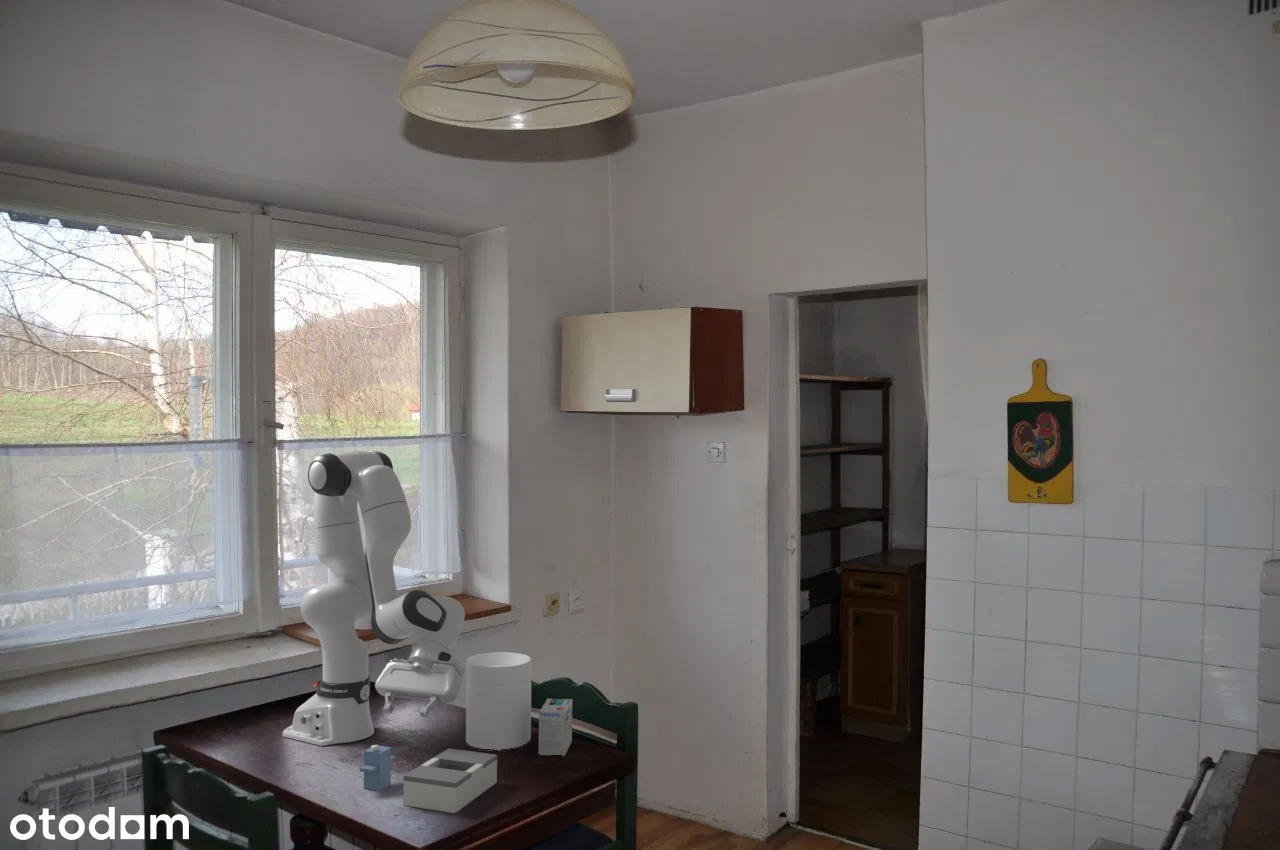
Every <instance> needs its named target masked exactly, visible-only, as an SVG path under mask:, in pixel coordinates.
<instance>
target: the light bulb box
mask: <svg viewBox="0 0 1280 850" xmlns="http://www.w3.org/2000/svg"><path fill="white" fill-rule="evenodd" d="M572 742H573V699H572V698H546V700H545V702H544V703H543V705H542V707H541V708H540V709H539V710H538V755H539V754H540V755H539V756H551V755H562V756H561V757H565V756H566V754H567V753H568V750H569V748H570V746H571V744H572Z"/></svg>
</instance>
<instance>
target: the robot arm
mask: <svg viewBox="0 0 1280 850" xmlns="http://www.w3.org/2000/svg"><path fill="white" fill-rule="evenodd" d="M307 480H308V483H309V485H310V487H311V489H312V491H313V492H314V495H313V497H314V498H313V528H314V535H315V543H316V552H317V557H318V560H319V561H320V562H321V563H322V564H324V565H326V566H327V567H328V569H330V571H331V572H332V574H333V576H334V578H335V581H331V582H326V583H322V584H320V585H318V586H315V587H313V588H312V589H309V590H308V591H306V593H304V595H303V596H302V599H301V602H300V614H301V617H302V619H303V620H304V622H305V623H306V625H308V626H309V627H311V628H312V629H313V630H314V632H315V633H316V636H318V639H319V644H320V647H321V654H322V678H321V679H319V680H318V681H315V682H313V683H312V684H313V686H312V687H313V689H314V688H316V687H317V689H316V692H315V693H314V694H313V696H311V697H310V698H308V699H307V700H306V701H305V702H303V703H302V704H301V705H300V706H298V707H297V708H296V710H295V712H294V714H293V719H292V725H289V726H287V728H284V730H283V731H282V735H281V736H282V737H283V738H288V739H291V740H295V741H300V742H305V743H308V744H312V745H316V746H321V747H322V746H330V745H335V744H343V743H344V744H346V743H351V742H357V741H362V740H364V739H367V738H369V737H371V736H372V735H374V733H375V728H374V726H373V722H372V717H371V710H370V695H371V694H370V693H371V677H370V675H369V655H370V654H369V651H370V650H369V646H368V644H367V643H366V642H365V641H363V639H361V638H359V637H358V634H357V632H356V627H355V624H356V623H357V622H360V621H365V620H369V619H370V626H371V629H372V631H373V633H374V635H375V637H376V638H377V639H379V641H380V642H382V643H384V644H387V645H397V644H399V643H402V642H403V641H405V640H406V639H407V638H409V637H412V636H413V637H415V638H416V642H415V644H414V646H413V648H412V651H411V653H410V655H409V657H408V658H400V657H395V658H394V659H391V660H389V661H388V662H387V663H386V665H385V667H384V668H383V670H382V671H381V673H380V674H379V676H378V677H377V679H376V681H375V684H374V687H375V690H376V692H377V693H378V694H379V695H380V696H382V697H384V700H385V703H384V706H383V709H382V710H383V712H384V714H393V711H394V709H395V706H394V705H393V703H392V701H394V700H395V698H402V699H413V700H420V701H421V700H422V701H429V702H428V703H427V704H426V705H425V706H422V707H421V708H420V711H419V716H420V717H421V718H429V716H430V714H431V712H432V711H433V710H434V709H435V708H437V706H439V704H440V703H441V702H442V703H453V702H454V701H455V700H456V699H457V698H458V695H459V693H460V690H461V686H462V682H463V681H462V680H463V678H462V677H463V676H464V674H465V669H464V667H463V664H462V662H461V661H460V660H459V658H458V657H457V656H456V655H455V654H453V653H452V650H453V647H454V646H455V645H456V643H457V642H458V640H459V638H460V634H461V632H462V630H463V627H464V622H465V617H466V614H465V609H464V606H463V605H462V604H461V603H460V601H458V600H457V599H456V598H453V597H450V596H435V595H431V594H430V593H429V592H427V591H425V590H420V589H413V590H411V591H409V592H406V593H404V594H401V595H400V596H398V591H397V586H396V580H395V579H396V578H395V573H394V561H395V557H396V555H397V554H398V551H399V549H400V548H401V546H402V544H403V543H404V542H405V541H406V539H407V537H408V536H409V534H410V531H411V529H412V519H411V513H410V508H409V506H408V501H407V498H406V495H405V492H404V489H403V487H402V485H401V483H400V480H399V477H398V476H397V475H396V473H395V471H394V466H393V462H392V460H391V458H390V457H389V456H388V455H387V454H385V453H384V452H381V451H376V450H369V451H367V450H349V451H342V452H335V453H332V452H330V453H329V452H328V453H324V454H320V455H318V456H316V457H314V458H313V459H312V460H311V462H310V463H309V467H308V471H307ZM358 505H359V509H360V514H361V518H362V522H363V527H364V534H365V547H364V544H363V537H362V532H361V523H360V516H359V510H358Z"/></svg>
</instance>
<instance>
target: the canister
mask: <svg viewBox="0 0 1280 850" xmlns="http://www.w3.org/2000/svg"><path fill="white" fill-rule="evenodd" d="M532 660H533V659H532V657H531V656H529V655H527V654H525V653H524V654H523V653H518V652H511V651H508V652H507V651H505V652H504V651H502V652H501V651H500V652H499V651H498V652H486V653H481V654H479V653H478V654H476V655H472V656H469V657H468V658H467V659H466V696H465V697H466V699H465V700H466V702H465V704H466V707H465V709H466V711H465V713H466V714H465V742H467V743H468V744H469V745H470V746H474V747H477V748H482V749H494V750H498V751H502V750H501V749H509V748H514V749H516V748H515V747H518V748H520V747H519V746H521V747H523V746H522V745H524V744H526V743H527V742H528V741H529V742H530V741H531V740H530V739H532V737H531V736H532V735H531V734H532V733H531V732H532V731H531V729H532V665H533V664H532V662H533V661H532ZM467 743H466V744H467ZM468 744H467V745H468ZM527 744H528V743H527ZM527 744H526V745H527ZM469 745H468V746H469ZM470 746H469V747H470ZM524 746H525V745H524ZM509 750H510V749H509Z"/></svg>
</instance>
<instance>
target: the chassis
mask: <svg viewBox="0 0 1280 850" xmlns="http://www.w3.org/2000/svg"><path fill="white" fill-rule="evenodd" d="M497 779H498V754H495V753H486V752H480V751H471V750H464V749H456V748H447V749H445V750H444V751H442V752H441V753H438V754H437V755H436V756H434V757H432V758H430V759H429V760H427V761H425V762H424V763H422V764H421V765H419V766H417V767H415V768H414V769H412V770H411V771H409V772H407V773H406V774H404V775H403V789H402V790H403V791H402V792H403V795H402V799H403V800H402V806H406V807H412V808H417V809H418V808H419V809H426V810H431V811H438V812H446V813H452V814H456V813H457V812H460V810H461V809H463V808H464V807H466V806H467V805H468V804H469V803H471V802H473V801H474V800H476V799H477V797H479V796H481V794H483V793H484V792H486V791H487V790H488V789H490V788H491V787H493V786H494V785H495V784H497V782H498V780H497Z"/></svg>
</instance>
